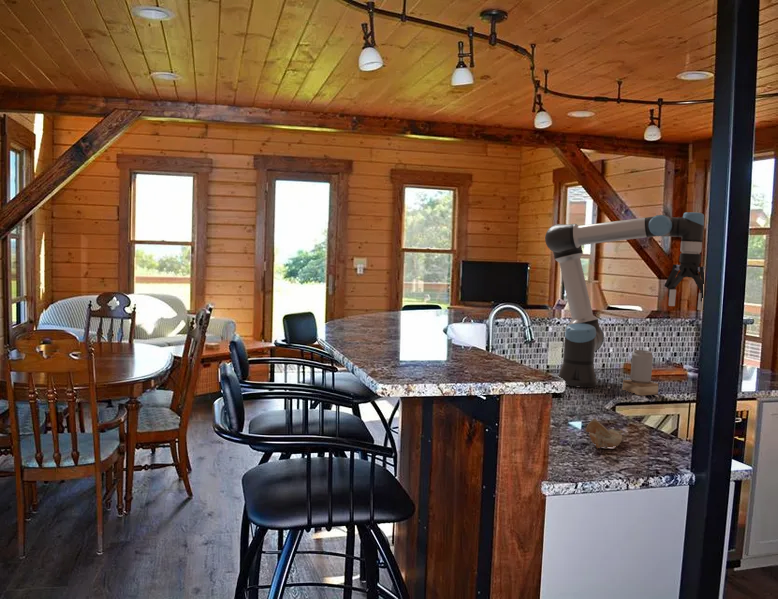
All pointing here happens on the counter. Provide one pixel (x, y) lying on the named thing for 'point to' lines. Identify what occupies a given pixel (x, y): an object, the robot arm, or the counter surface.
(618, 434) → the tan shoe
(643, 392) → the pedestal
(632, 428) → the counter surface
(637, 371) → the can
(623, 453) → the counter surface
